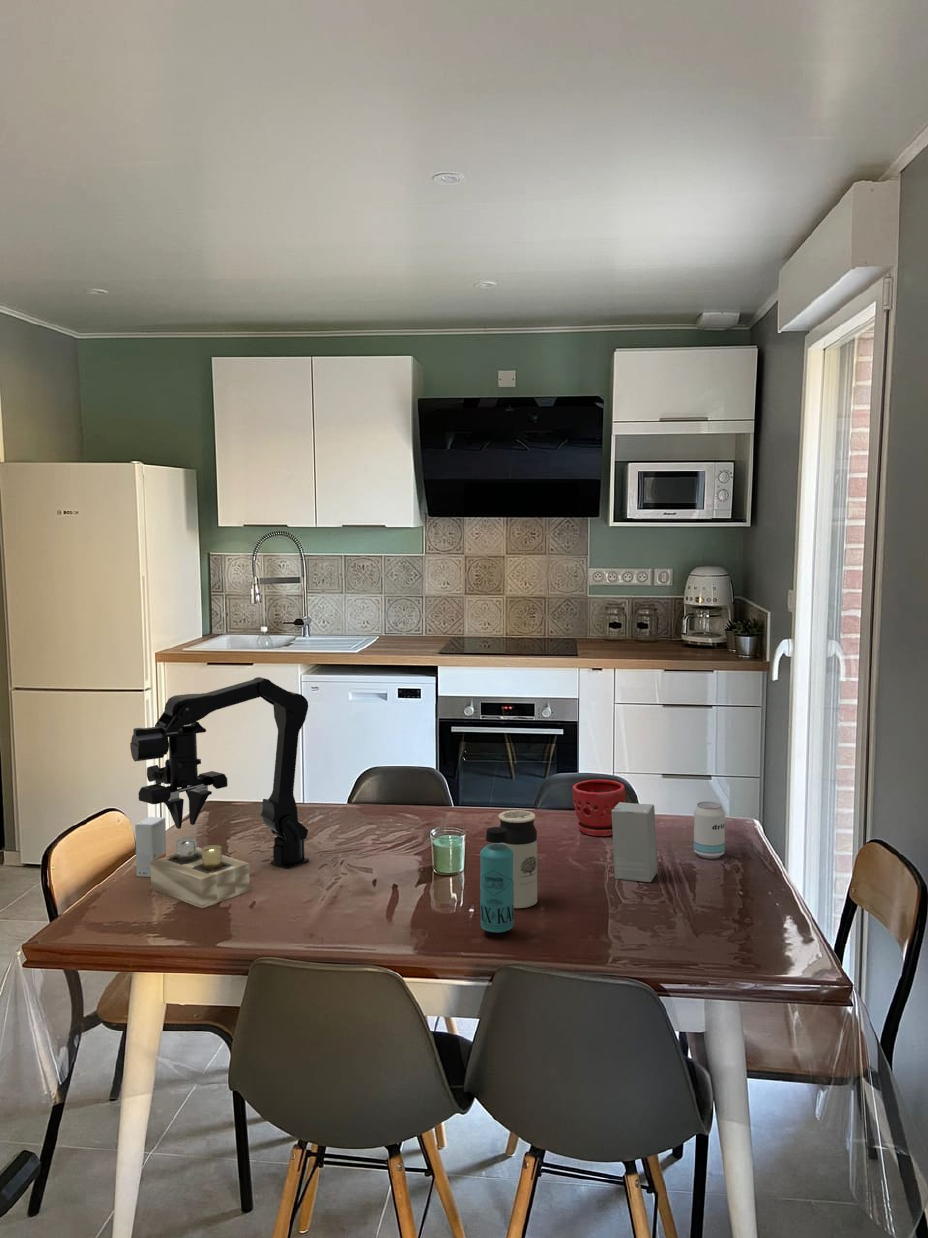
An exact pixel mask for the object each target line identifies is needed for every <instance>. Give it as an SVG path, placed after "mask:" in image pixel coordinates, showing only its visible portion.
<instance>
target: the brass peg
mask: <svg viewBox="0 0 928 1238" xmlns="http://www.w3.org/2000/svg"><path fill="white" fill-rule="evenodd" d="M222 849H223V848H222V846H221V845H218V844H210V845H205V846H203V847H202V869H203V870H206V871H209V872H211V871H214V870H217V869H220V868H222V855H223V851H222Z"/></svg>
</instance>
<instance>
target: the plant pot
mask: <svg viewBox="0 0 928 1238" xmlns="http://www.w3.org/2000/svg"><path fill="white" fill-rule="evenodd" d="M625 787H626V786H625V785H624V784H623V783H622V782H620V781H616V780H610V779H588V780H583V781H578V782H577V783H575V784H574V785H573V786H572V802H573V808H574V811H575V812H574V813H575V814H576V817H577V819H578V822H577V824H576V825H577V828H578V830H579V831H580V832H582V833H583V834H586V835H588V836H589V835H590V836H593V837H594V836H597V837H608V836H609V837H610V836H613V829H612V812H611V811H612V810H613V809H614V807H615V806H616V805H617V804H618V803H619V802H623V803H626V789H625Z"/></svg>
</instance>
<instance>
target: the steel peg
mask: <svg viewBox="0 0 928 1238" xmlns="http://www.w3.org/2000/svg"><path fill="white" fill-rule="evenodd" d="M196 848H197V839H196V838H195V837H191V836H190V837H189V836H188V837H181V838H177V840H176V854H177V861H179V862H182V863H186V862H189V861H192V860H195V859H197V858H196Z"/></svg>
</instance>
